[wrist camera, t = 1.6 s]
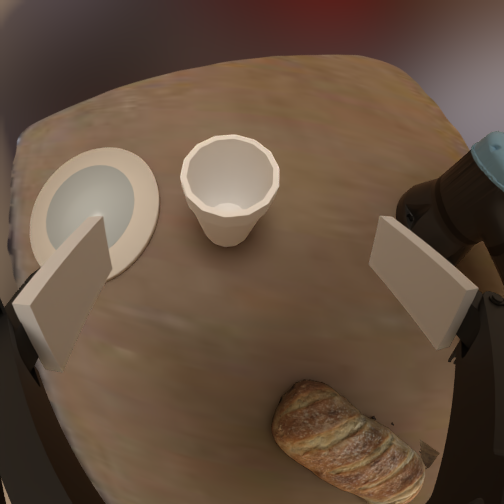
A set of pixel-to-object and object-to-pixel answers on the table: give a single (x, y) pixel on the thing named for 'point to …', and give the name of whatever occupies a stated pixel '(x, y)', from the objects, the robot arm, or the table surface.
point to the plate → (98, 205)
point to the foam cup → (229, 186)
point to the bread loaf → (348, 445)
